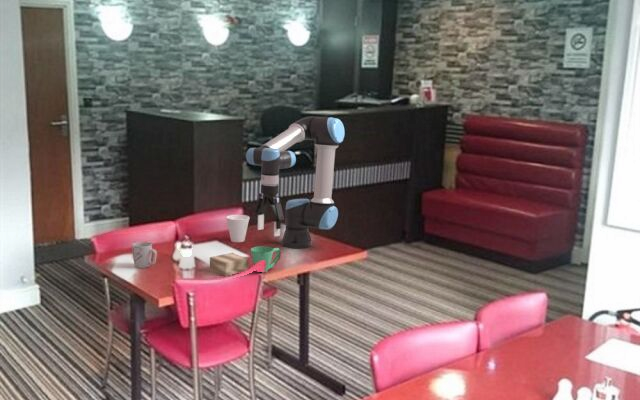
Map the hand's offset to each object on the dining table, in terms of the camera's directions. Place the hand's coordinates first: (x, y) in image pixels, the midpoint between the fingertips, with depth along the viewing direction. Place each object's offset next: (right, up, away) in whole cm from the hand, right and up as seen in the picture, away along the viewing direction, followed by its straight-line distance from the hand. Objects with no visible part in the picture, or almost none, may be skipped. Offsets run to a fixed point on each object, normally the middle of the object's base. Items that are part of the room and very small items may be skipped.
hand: (268, 232), depth 298 cm
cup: (-20, -7, +51) cm, 56 cm away
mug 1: (-54, -15, +3) cm, 56 cm away
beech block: (-17, -17, +1) cm, 24 cm away
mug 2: (-1, -17, +3) cm, 17 cm away
